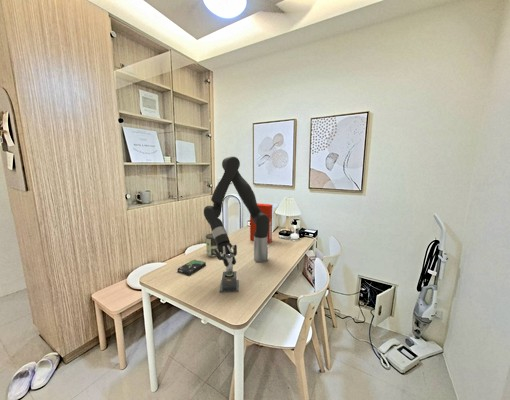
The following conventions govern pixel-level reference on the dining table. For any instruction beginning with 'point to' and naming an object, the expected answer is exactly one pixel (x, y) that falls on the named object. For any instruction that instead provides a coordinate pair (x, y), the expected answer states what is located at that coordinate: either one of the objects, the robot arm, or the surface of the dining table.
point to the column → (230, 262)
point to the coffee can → (210, 244)
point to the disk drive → (191, 267)
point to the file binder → (268, 211)
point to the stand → (229, 283)
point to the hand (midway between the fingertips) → (231, 265)
